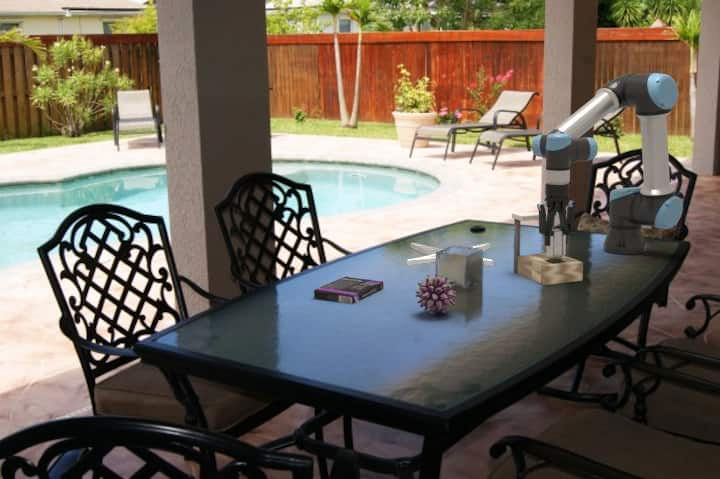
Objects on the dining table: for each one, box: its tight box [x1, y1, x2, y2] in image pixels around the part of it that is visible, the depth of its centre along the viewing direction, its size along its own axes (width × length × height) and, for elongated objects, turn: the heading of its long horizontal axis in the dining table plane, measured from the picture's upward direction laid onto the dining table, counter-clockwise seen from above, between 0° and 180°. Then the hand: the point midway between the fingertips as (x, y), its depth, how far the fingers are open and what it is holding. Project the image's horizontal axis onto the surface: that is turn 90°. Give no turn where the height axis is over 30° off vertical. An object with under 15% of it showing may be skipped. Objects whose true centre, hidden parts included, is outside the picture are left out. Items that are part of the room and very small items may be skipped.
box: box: [313, 276, 384, 305], centre depth 288 cm, size 14×4×20 cm
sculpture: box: [406, 242, 494, 267], centre depth 337 cm, size 30×3×30 cm
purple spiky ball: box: [415, 272, 458, 315], centre depth 263 cm, size 12×12×12 cm
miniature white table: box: [511, 209, 559, 274], centre depth 309 cm, size 16×6×20 cm, turn 110°
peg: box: [549, 228, 563, 264], centre depth 299 cm, size 4×4×12 cm
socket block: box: [517, 252, 584, 286], centre depth 303 cm, size 14×17×6 cm
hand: (555, 254), depth 299 cm, fingers closed on peg, 4 cm apart
